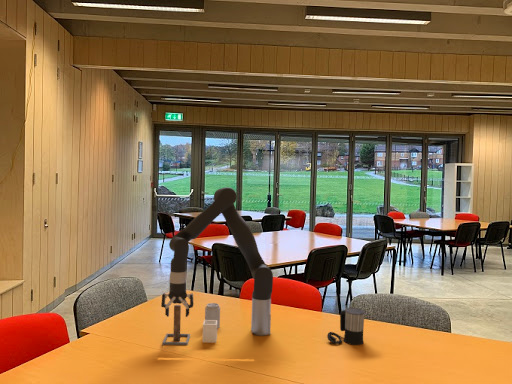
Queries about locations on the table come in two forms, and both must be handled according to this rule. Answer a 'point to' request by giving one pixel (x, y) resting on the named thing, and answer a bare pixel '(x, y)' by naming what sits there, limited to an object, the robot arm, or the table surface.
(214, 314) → the can
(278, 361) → the table surface
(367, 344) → the table surface
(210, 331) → the cup
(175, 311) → the dowel
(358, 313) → the milk frother
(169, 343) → the tray
